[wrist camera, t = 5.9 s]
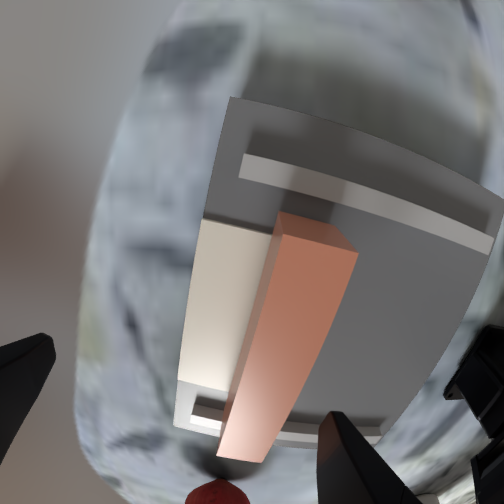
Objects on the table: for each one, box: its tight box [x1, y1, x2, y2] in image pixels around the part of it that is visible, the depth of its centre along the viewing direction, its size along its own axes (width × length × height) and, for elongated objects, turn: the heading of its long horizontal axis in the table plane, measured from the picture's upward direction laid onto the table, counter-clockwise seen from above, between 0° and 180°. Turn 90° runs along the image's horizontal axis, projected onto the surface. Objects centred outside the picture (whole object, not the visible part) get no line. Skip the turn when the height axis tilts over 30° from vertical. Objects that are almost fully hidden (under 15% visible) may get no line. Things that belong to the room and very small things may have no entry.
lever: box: [216, 211, 359, 463], centre depth 10 cm, size 2×10×3 cm, turn 167°
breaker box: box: [174, 97, 504, 449], centre depth 13 cm, size 13×17×3 cm
